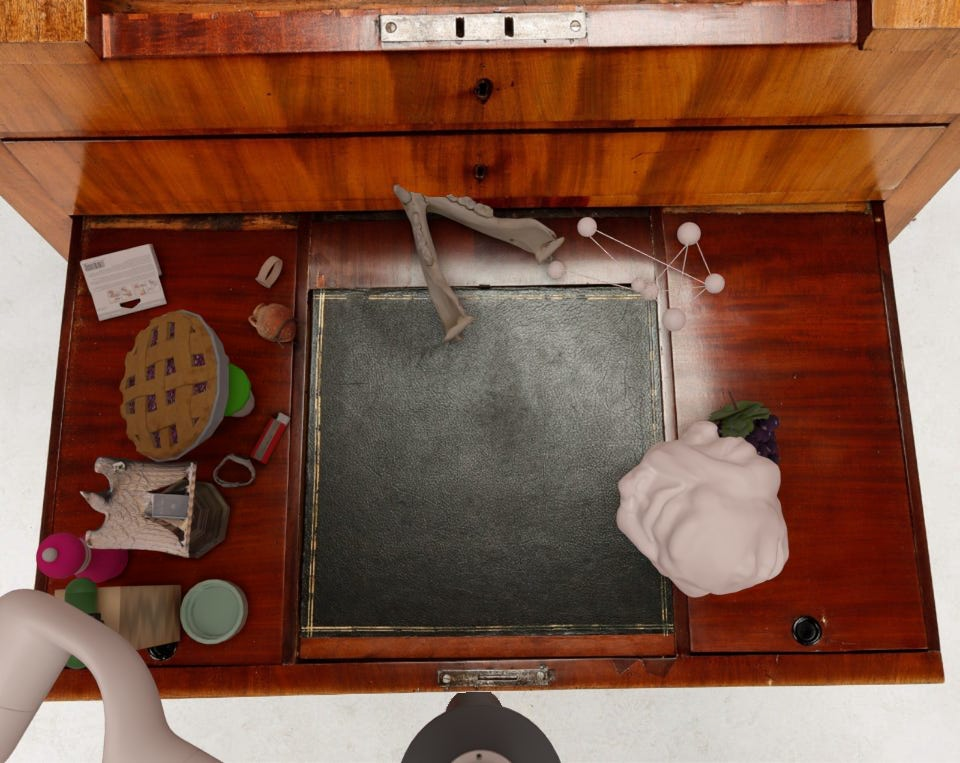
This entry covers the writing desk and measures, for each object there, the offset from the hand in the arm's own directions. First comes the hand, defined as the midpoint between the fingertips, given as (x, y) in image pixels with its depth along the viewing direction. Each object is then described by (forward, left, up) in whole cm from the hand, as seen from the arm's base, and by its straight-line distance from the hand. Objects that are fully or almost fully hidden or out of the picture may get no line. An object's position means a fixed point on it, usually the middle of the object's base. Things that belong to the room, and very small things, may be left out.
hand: (53, 629), depth 98 cm
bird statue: (+15, -7, -34) cm, 38 cm away
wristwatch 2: (+18, -12, -33) cm, 40 cm away
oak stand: (0, 0, -34) cm, 34 cm away
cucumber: (0, 0, -10) cm, 10 cm away
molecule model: (+57, -74, -30) cm, 98 cm away
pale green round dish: (0, -9, -34) cm, 35 cm away
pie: (+32, -7, -25) cm, 42 cm away
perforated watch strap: (+52, -17, -34) cm, 65 cm away
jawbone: (+55, -47, -34) cm, 80 cm away
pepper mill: (+9, +7, -34) cm, 36 cm away
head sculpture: (+2, -87, -15) cm, 88 cm away
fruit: (+15, -92, -32) cm, 98 cm away
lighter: (+22, -15, -33) cm, 43 cm away
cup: (+32, -12, -34) cm, 48 cm away
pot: (+45, -21, -30) cm, 58 cm away
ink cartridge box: (+56, +7, -31) cm, 65 cm away
